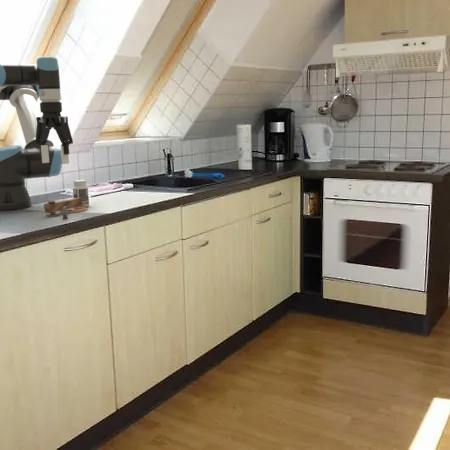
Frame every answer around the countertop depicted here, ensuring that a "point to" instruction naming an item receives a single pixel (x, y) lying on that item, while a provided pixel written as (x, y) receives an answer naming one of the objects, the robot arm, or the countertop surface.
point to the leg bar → (62, 204)
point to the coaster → (76, 210)
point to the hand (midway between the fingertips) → (55, 163)
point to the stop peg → (64, 212)
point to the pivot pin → (53, 214)
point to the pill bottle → (81, 191)
